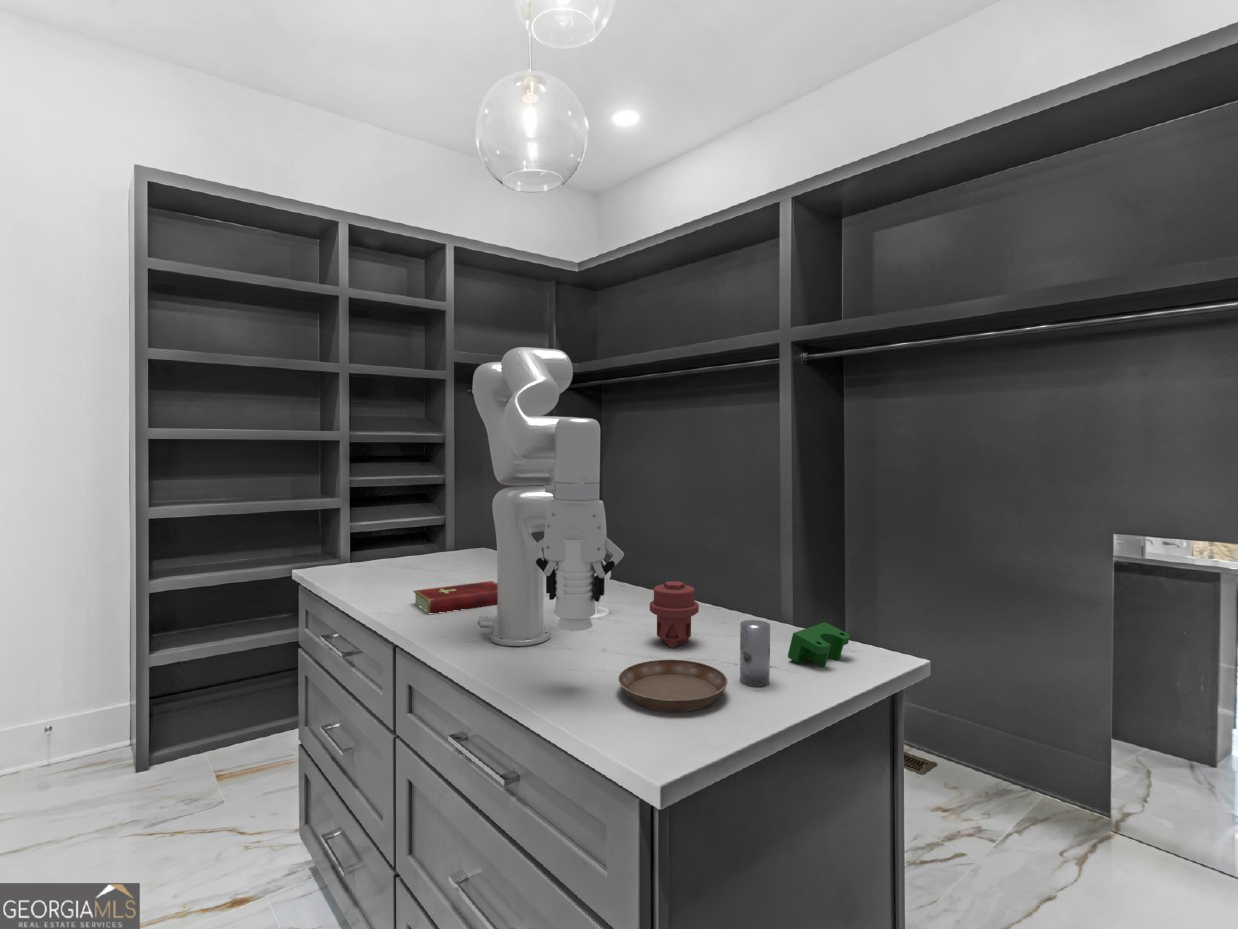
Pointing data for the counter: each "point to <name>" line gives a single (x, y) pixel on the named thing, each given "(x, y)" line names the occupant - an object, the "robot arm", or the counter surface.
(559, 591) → the white ribbed cylinder
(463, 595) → the hardcover book
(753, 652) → the metal pillar
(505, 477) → the robot arm
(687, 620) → the mechanical component
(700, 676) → the plant saucer
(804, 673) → the counter surface
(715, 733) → the counter surface
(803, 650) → the clamp
